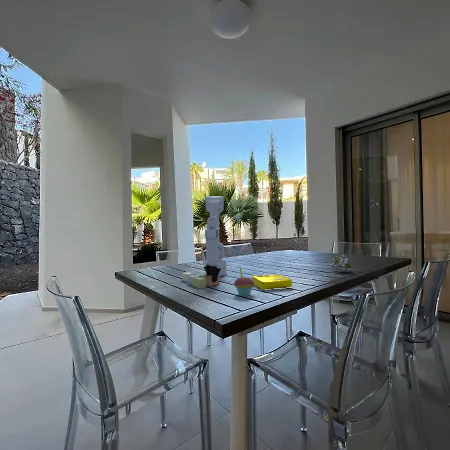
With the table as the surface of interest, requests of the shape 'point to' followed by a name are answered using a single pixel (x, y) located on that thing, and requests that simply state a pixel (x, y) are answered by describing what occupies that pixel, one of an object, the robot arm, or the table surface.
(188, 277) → the blue brick
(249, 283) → the cupcake
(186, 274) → the grey brick
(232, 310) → the table surface
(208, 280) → the terracotta brick
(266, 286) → the element tile
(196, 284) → the olive brick
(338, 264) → the passion flower
